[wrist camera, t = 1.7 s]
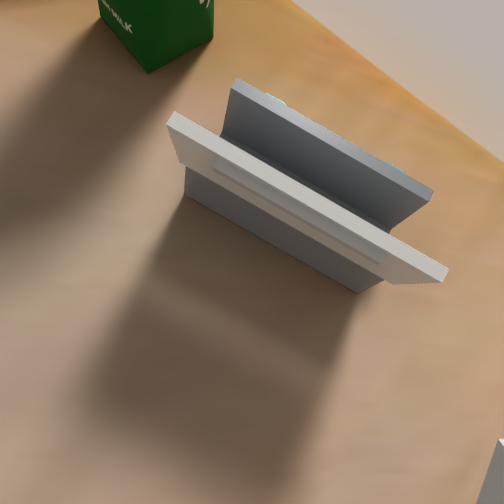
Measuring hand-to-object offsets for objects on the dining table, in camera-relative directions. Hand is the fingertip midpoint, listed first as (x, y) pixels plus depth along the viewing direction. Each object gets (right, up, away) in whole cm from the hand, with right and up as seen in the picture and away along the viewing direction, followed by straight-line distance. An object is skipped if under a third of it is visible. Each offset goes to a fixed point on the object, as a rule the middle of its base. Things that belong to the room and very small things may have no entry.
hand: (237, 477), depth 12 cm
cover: (+3, +8, +15) cm, 18 cm away
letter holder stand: (+4, +9, +27) cm, 29 cm away
